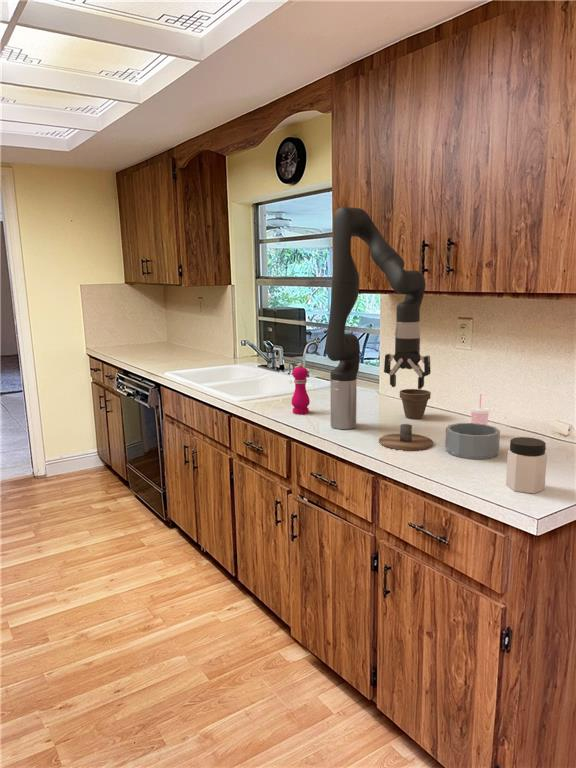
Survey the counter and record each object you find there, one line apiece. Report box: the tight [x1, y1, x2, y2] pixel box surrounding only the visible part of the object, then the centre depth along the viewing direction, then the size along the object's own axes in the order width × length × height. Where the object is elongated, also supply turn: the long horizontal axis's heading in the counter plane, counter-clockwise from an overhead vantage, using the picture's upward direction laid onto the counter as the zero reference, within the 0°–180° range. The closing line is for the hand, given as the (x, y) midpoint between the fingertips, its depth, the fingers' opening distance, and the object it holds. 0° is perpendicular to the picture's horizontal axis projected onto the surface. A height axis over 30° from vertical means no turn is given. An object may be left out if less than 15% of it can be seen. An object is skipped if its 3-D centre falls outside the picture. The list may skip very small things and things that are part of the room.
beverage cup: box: [470, 393, 490, 425], centre depth 188 cm, size 6×6×14 cm
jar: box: [505, 436, 548, 494], centre depth 141 cm, size 9×8×12 cm
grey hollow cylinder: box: [444, 422, 501, 460], centre depth 171 cm, size 15×15×7 cm
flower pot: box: [399, 388, 432, 420], centre depth 214 cm, size 12×11×10 cm
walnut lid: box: [378, 423, 434, 452], centre depth 181 cm, size 17×17×6 cm
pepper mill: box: [291, 362, 311, 415], centre depth 223 cm, size 7×7×20 cm
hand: (406, 387), depth 178 cm, fingers open, 8 cm apart
